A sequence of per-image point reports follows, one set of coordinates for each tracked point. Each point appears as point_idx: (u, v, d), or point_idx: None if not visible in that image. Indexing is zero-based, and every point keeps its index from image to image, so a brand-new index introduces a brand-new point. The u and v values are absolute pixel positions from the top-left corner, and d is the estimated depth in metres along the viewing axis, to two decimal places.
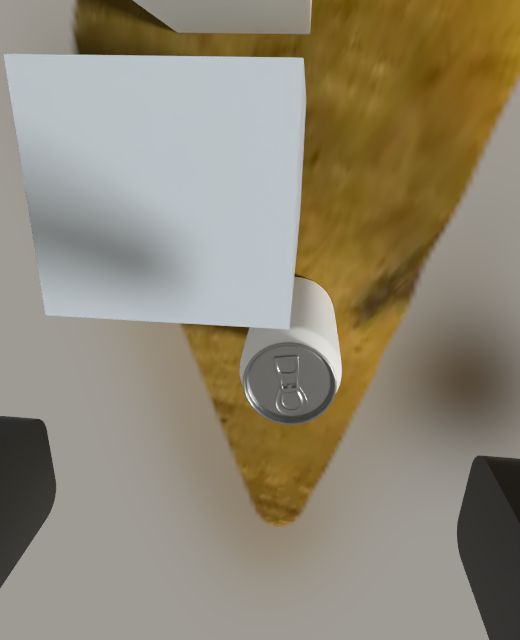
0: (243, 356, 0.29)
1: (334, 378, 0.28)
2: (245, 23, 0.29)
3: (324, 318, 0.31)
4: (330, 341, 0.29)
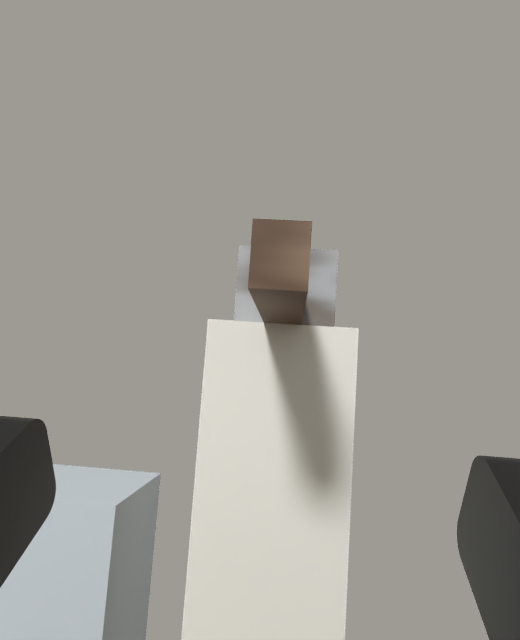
0: None
1: None
2: None
3: None
4: None
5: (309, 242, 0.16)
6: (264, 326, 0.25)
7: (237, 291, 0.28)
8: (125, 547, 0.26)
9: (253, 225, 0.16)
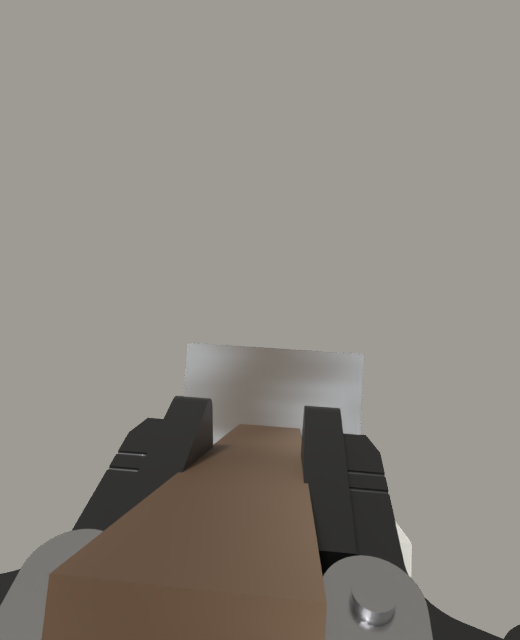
0: None
1: None
2: None
3: None
4: None
5: None
6: None
7: None
8: None
9: (49, 611, 0.03)
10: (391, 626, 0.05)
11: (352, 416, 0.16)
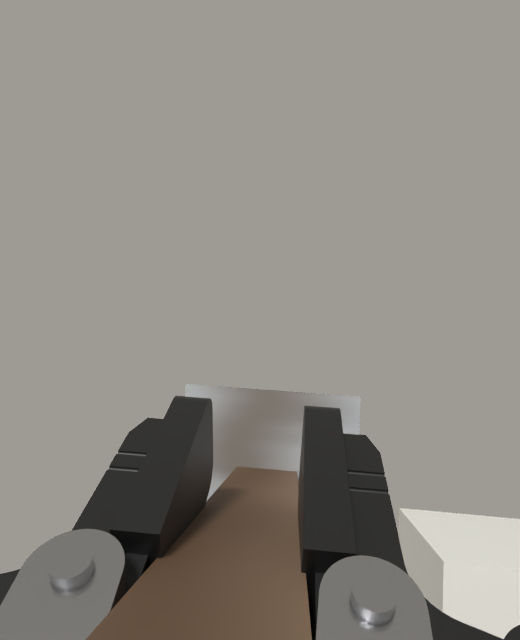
0: None
1: None
2: None
3: None
4: None
5: None
6: (514, 573, 0.21)
7: None
8: None
9: None
10: (391, 626, 0.05)
11: None
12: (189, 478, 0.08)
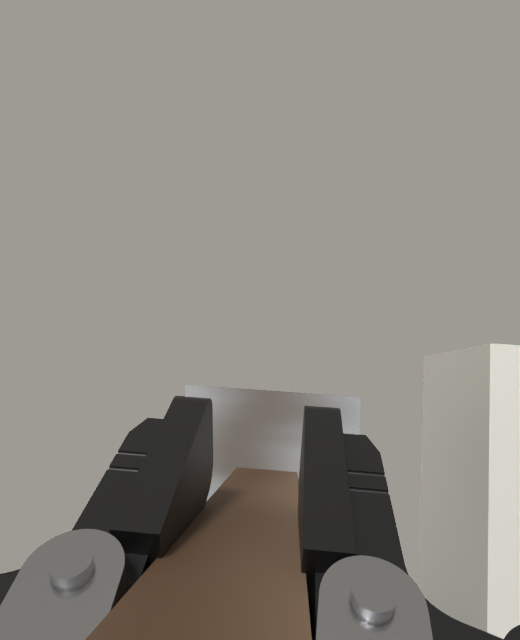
0: None
1: None
2: None
3: None
4: None
5: None
6: None
7: None
8: None
9: None
10: (391, 626, 0.05)
11: None
12: (189, 478, 0.08)
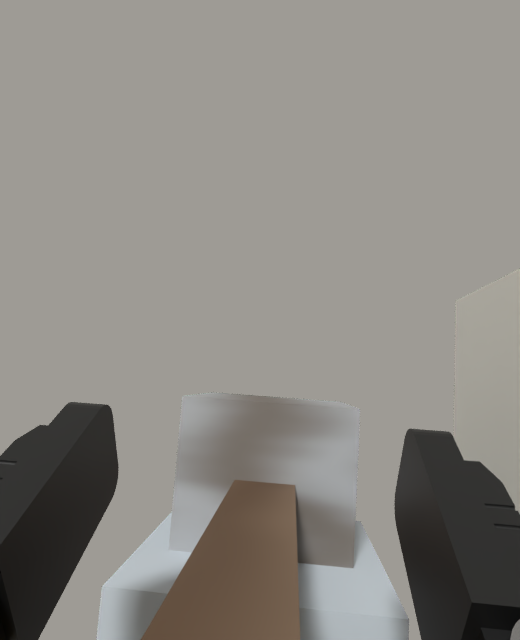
0: None
1: None
2: None
3: None
4: None
5: None
6: None
7: (177, 483, 0.16)
8: None
9: None
10: None
11: (348, 473, 0.15)
12: (63, 489, 0.08)
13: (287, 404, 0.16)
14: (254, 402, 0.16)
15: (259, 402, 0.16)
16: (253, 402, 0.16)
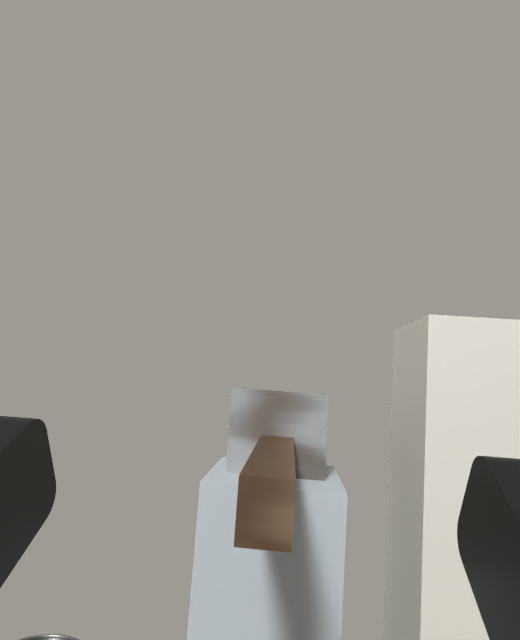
0: None
1: None
2: None
3: None
4: None
5: (293, 502, 0.16)
6: (485, 321, 0.26)
7: (230, 437, 0.29)
8: None
9: (239, 482, 0.16)
10: None
11: (322, 431, 0.29)
12: None
13: (289, 394, 0.29)
14: (271, 393, 0.29)
15: (274, 393, 0.29)
16: (271, 393, 0.29)
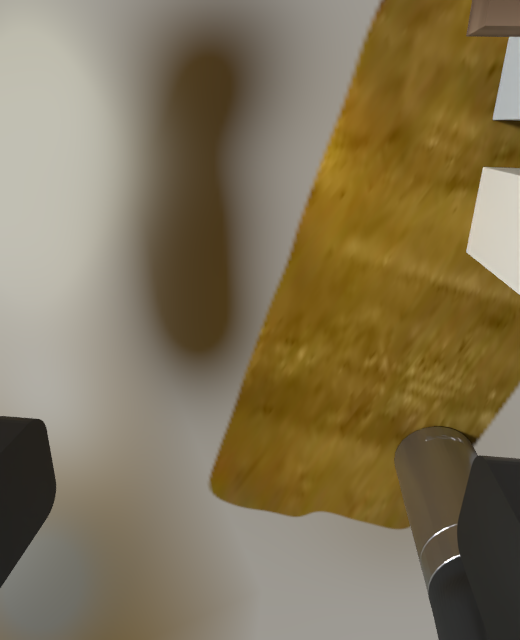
0: None
1: None
2: None
3: None
4: None
5: (478, 27, 0.20)
6: None
7: None
8: None
9: None
10: None
11: None
12: None
13: None
14: None
15: None
16: None
